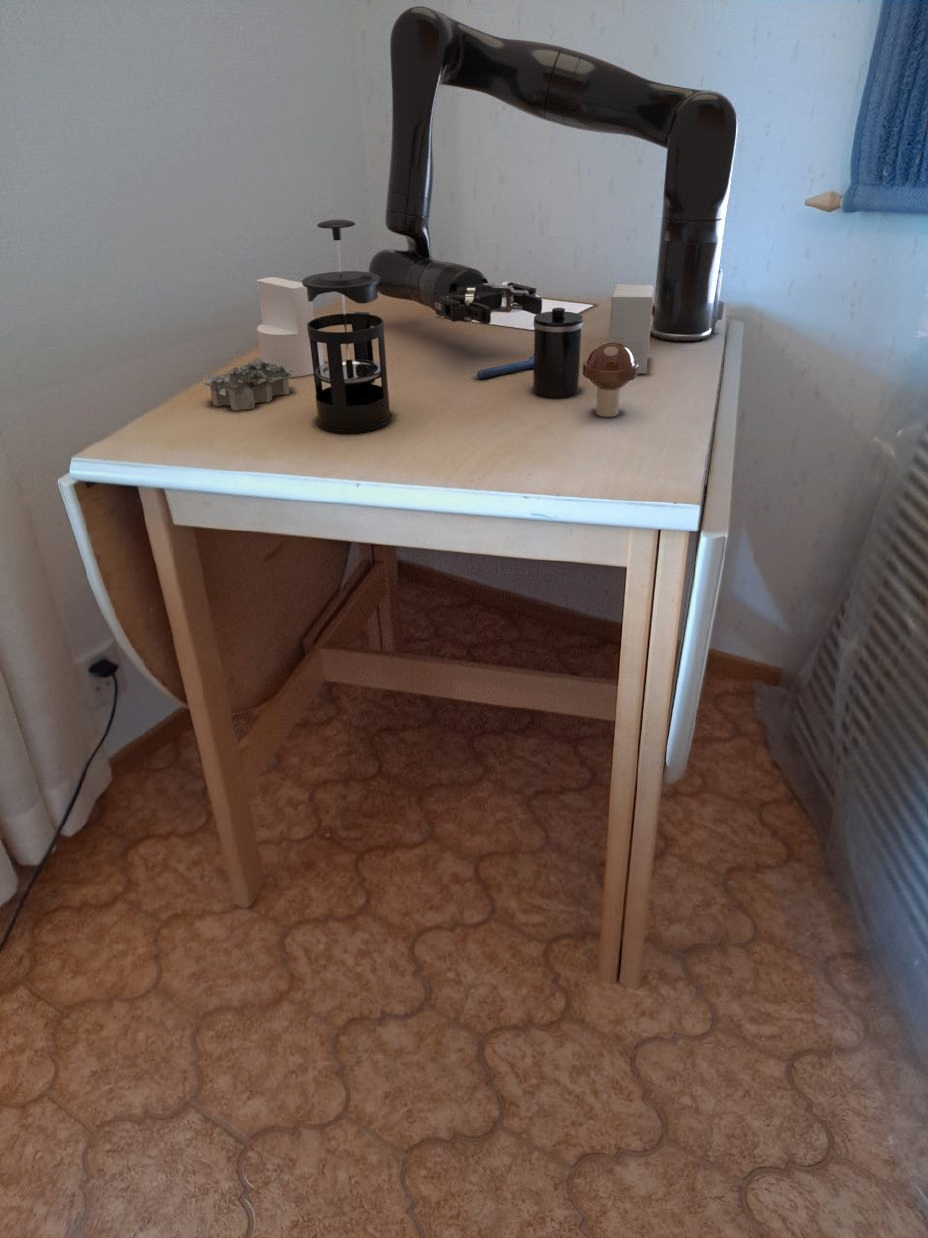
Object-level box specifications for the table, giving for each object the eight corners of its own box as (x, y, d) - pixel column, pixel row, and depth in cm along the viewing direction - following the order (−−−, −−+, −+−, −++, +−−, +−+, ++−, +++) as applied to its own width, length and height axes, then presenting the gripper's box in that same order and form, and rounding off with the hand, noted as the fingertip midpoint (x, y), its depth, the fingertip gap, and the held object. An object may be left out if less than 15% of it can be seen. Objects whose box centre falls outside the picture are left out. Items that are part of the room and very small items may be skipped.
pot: (560, 380, 120) (563, 300, 114) (588, 392, 115) (593, 310, 109) (522, 389, 117) (524, 307, 111) (550, 401, 112) (553, 317, 107)
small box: (646, 375, 121) (653, 297, 115) (605, 373, 122) (611, 295, 116) (647, 358, 127) (654, 283, 122) (609, 357, 128) (614, 283, 123)
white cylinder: (250, 369, 127) (237, 283, 121) (299, 355, 133) (288, 272, 126) (288, 381, 122) (276, 292, 116) (337, 366, 128) (328, 280, 121)
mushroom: (610, 400, 112) (615, 332, 108) (644, 415, 108) (651, 343, 103) (570, 410, 109) (573, 340, 105) (603, 426, 105) (608, 353, 100)
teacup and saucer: (544, 305, 156) (545, 281, 154) (523, 314, 151) (523, 290, 148) (502, 300, 160) (502, 276, 158) (480, 309, 155) (480, 285, 152)
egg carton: (240, 414, 111) (235, 383, 109) (202, 403, 115) (196, 373, 113) (300, 391, 118) (296, 361, 116) (262, 381, 122) (257, 352, 120)
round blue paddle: (547, 358, 129) (547, 350, 128) (565, 365, 125) (565, 357, 125) (469, 375, 123) (469, 367, 122) (486, 383, 119) (486, 374, 119)
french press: (376, 438, 103) (359, 229, 90) (303, 433, 105) (276, 227, 92) (405, 405, 112) (393, 212, 100) (337, 401, 114) (317, 211, 102)
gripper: (410, 270, 125) (470, 289, 114) (492, 257, 131) (557, 275, 120) (413, 323, 129) (471, 347, 118) (492, 308, 135) (555, 330, 124)
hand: (514, 311), depth 119 cm, fingers open, 8 cm apart
